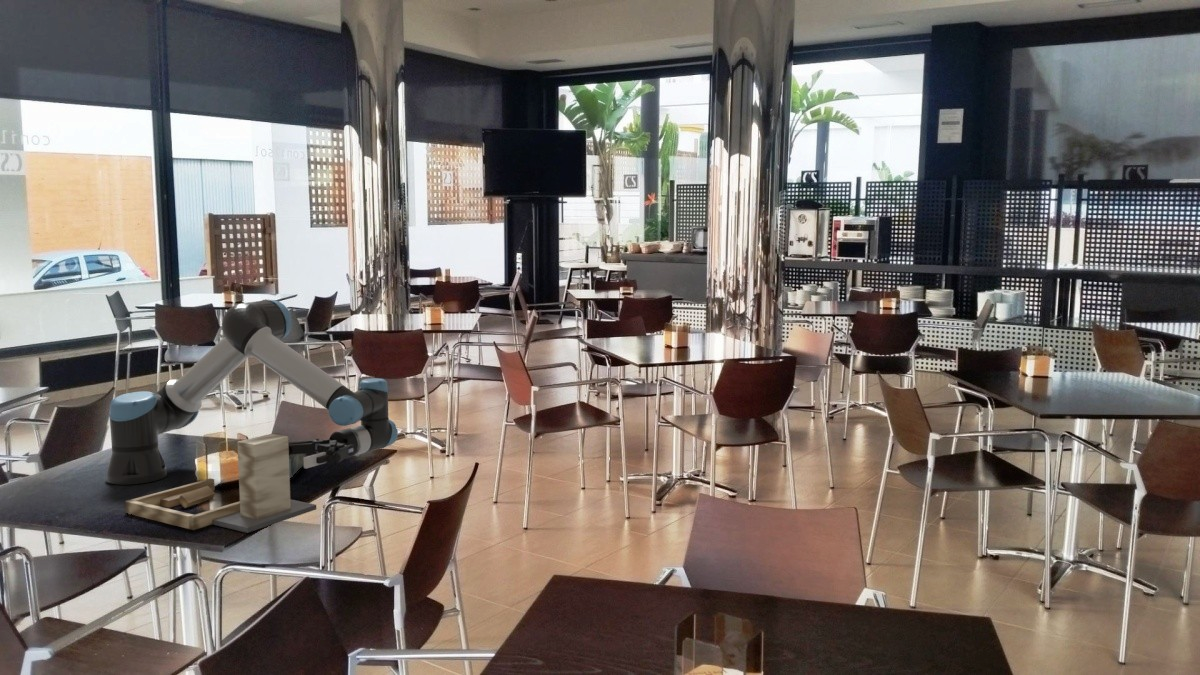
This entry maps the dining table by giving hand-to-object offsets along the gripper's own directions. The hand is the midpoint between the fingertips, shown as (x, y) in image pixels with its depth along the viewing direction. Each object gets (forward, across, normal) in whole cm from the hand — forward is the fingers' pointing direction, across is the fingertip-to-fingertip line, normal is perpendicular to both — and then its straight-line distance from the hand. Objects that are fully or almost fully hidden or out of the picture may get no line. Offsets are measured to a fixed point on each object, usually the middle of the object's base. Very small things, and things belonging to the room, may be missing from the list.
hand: (285, 459), depth 233 cm
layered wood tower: (+6, 0, -12) cm, 13 cm away
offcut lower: (+8, +29, -13) cm, 33 cm away
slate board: (+6, 0, -13) cm, 14 cm away
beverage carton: (-26, +30, -13) cm, 42 cm away
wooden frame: (+10, +19, -13) cm, 25 cm away
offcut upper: (+8, +25, -12) cm, 29 cm away
